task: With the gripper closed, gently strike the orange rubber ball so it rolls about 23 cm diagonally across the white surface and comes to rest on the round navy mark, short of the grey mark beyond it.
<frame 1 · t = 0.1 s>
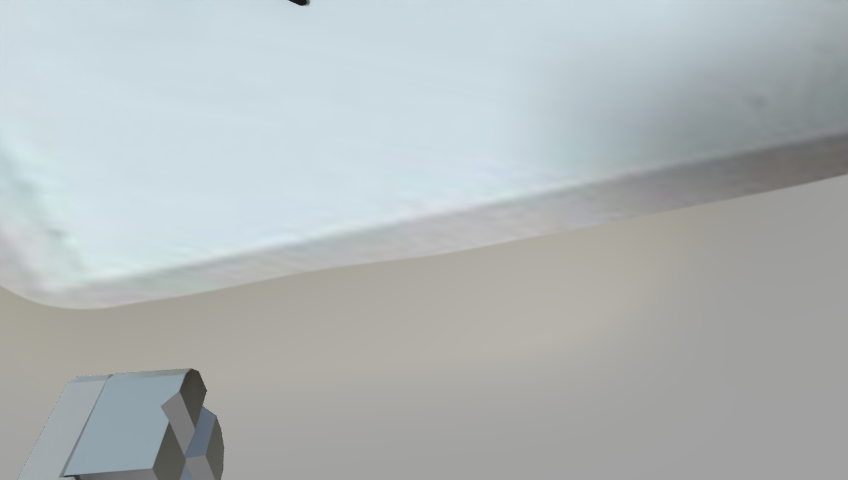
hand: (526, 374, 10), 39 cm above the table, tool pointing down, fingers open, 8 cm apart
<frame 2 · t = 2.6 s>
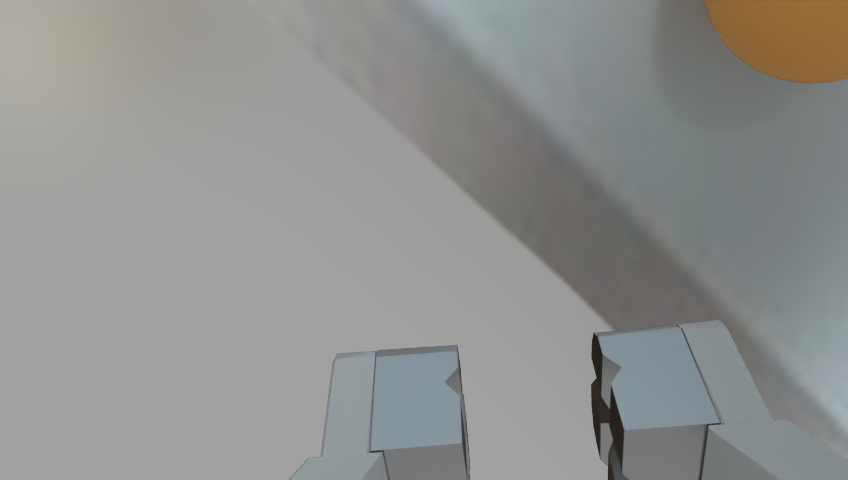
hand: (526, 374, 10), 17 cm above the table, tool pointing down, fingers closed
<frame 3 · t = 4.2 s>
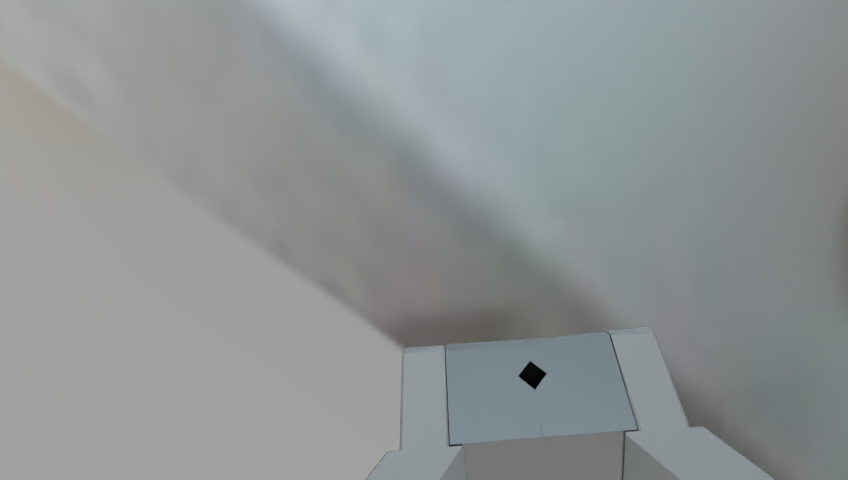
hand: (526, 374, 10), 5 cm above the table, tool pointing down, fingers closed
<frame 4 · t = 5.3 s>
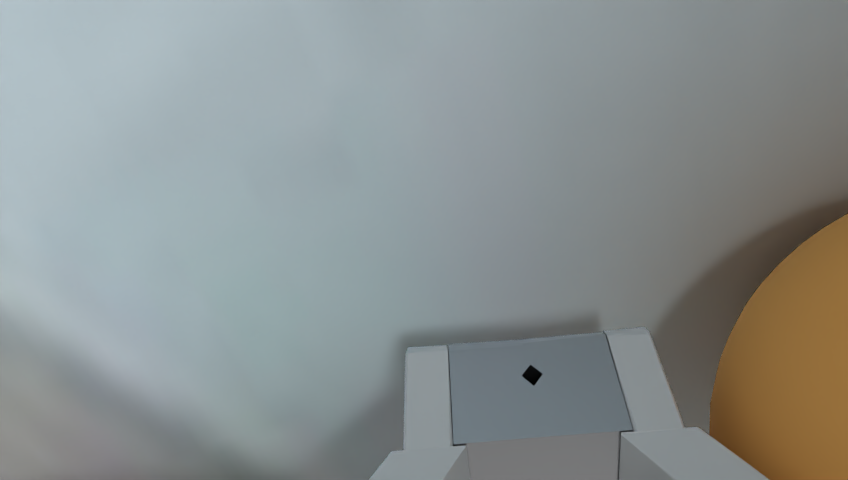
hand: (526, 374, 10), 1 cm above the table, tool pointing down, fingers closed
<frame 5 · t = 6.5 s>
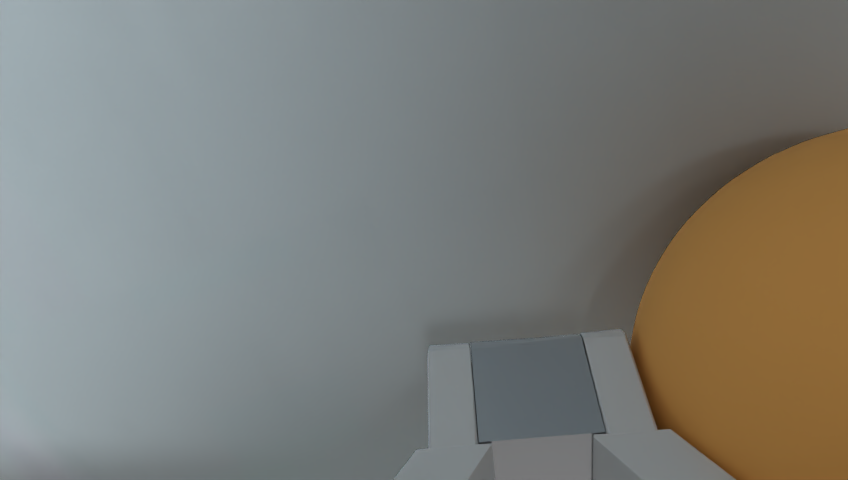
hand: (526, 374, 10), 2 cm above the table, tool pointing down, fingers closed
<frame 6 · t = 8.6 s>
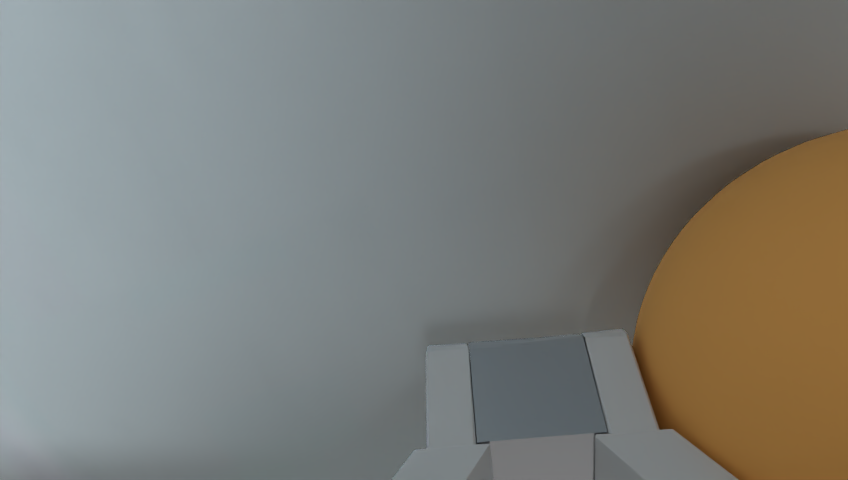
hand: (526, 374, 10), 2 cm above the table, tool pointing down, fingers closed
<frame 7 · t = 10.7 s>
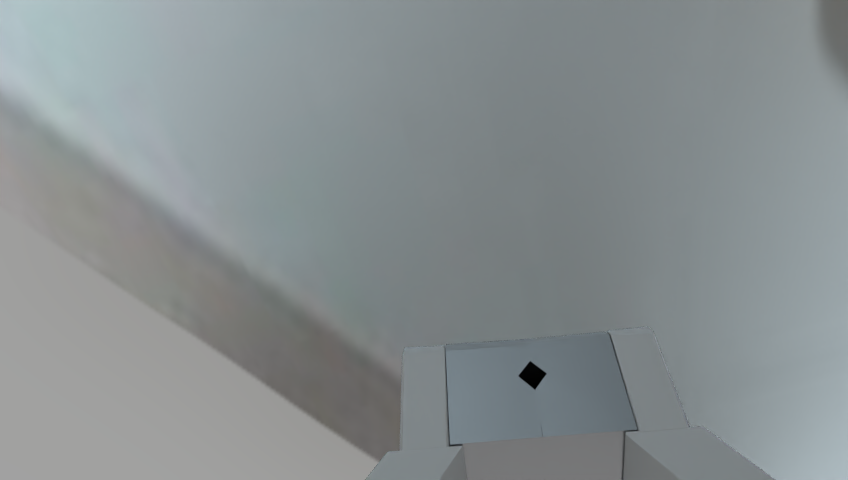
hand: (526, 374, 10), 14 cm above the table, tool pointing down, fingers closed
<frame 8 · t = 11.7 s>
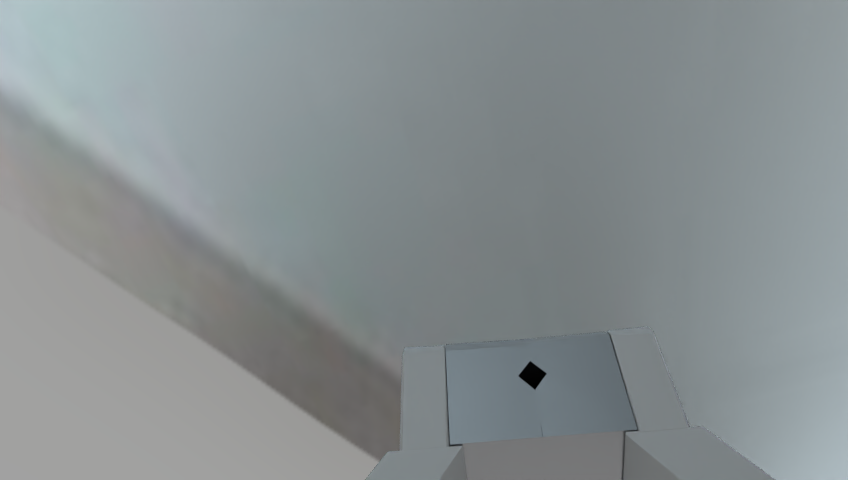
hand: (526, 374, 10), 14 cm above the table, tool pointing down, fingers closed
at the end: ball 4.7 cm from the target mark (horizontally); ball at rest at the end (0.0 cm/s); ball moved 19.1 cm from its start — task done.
